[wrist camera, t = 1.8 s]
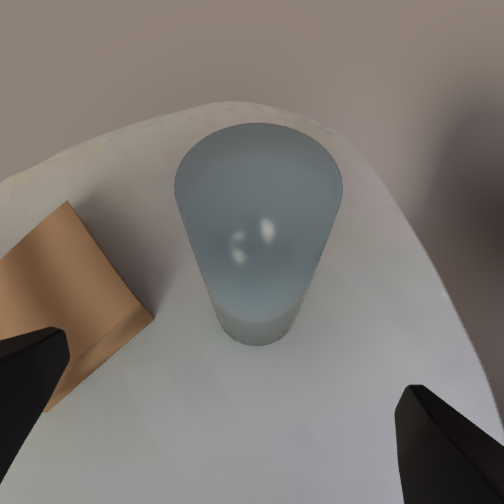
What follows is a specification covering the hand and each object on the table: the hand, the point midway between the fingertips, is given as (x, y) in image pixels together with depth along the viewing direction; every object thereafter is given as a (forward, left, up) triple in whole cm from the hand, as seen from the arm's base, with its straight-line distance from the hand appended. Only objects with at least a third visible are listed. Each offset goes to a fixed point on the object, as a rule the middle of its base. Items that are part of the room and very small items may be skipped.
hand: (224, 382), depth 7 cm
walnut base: (-6, +13, -12) cm, 19 cm away
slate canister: (+5, +4, -12) cm, 14 cm away
